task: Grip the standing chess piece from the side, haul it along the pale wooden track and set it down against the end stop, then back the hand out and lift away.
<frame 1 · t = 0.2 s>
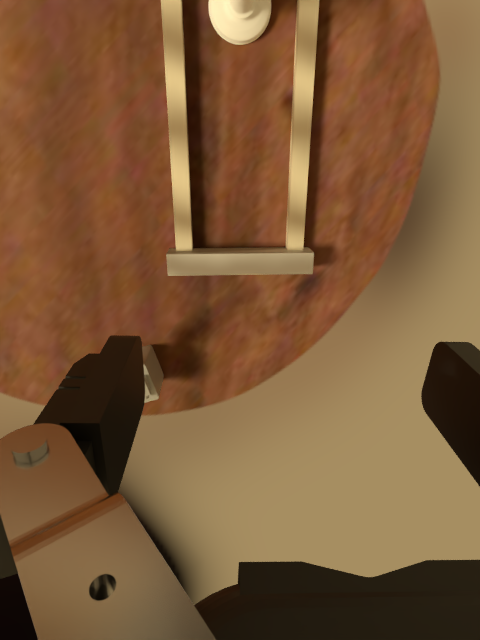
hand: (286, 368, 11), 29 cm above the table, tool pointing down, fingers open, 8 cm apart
lighter: (145, 350, 42), on the table
chess piece: (239, 8, 31), on the table
track: (239, 121, 34), on the table
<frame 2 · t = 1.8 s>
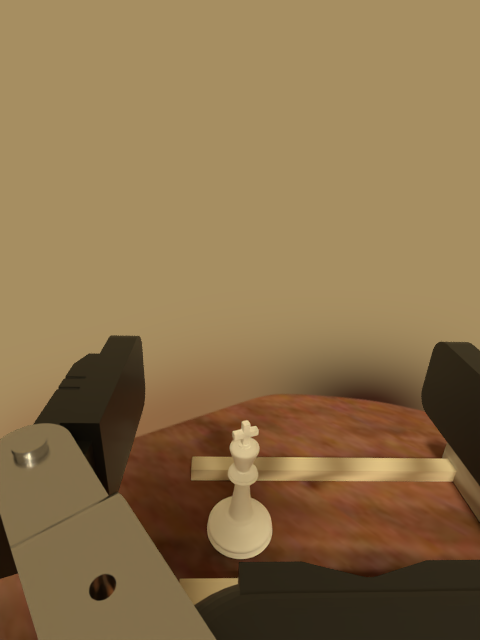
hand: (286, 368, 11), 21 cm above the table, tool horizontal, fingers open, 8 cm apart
chess piece: (239, 529, 30), on the table
track: (343, 527, 30), on the table
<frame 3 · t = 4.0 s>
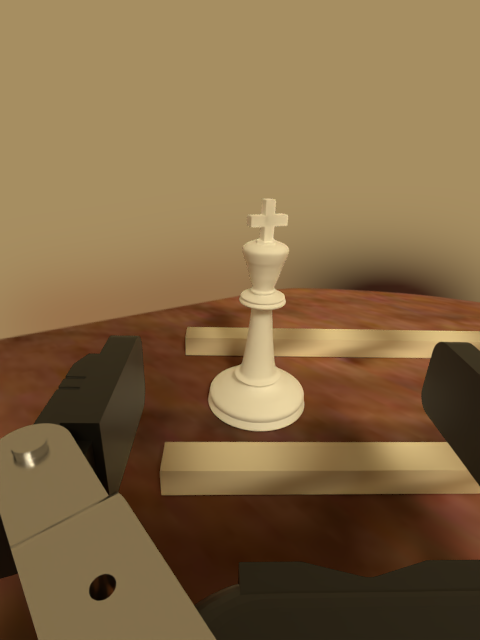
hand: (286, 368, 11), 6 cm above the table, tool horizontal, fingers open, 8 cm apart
chess piece: (255, 403, 20), on the table
track: (407, 400, 21), on the table
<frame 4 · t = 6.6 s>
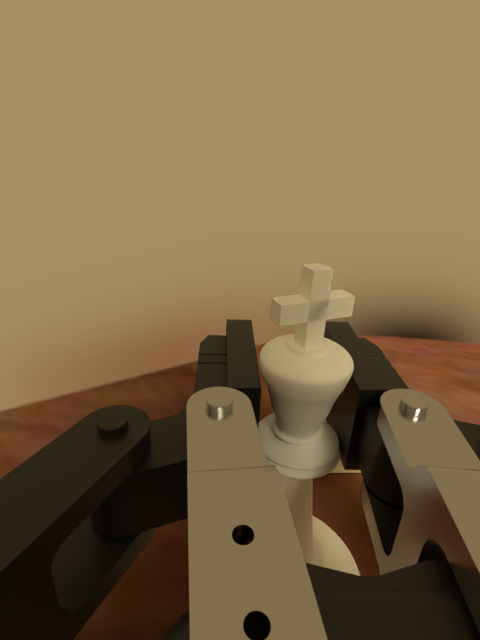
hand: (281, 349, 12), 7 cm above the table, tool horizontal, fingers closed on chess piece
chess piece: (277, 591, 12), on the table, touching gripper
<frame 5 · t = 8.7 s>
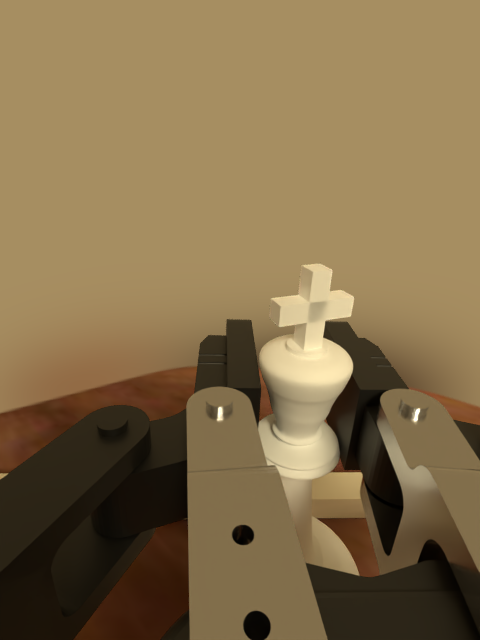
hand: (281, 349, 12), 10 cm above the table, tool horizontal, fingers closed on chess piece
chess piece: (276, 592, 12), point 3 cm above the table, touching gripper
track: (248, 635, 13), on the table
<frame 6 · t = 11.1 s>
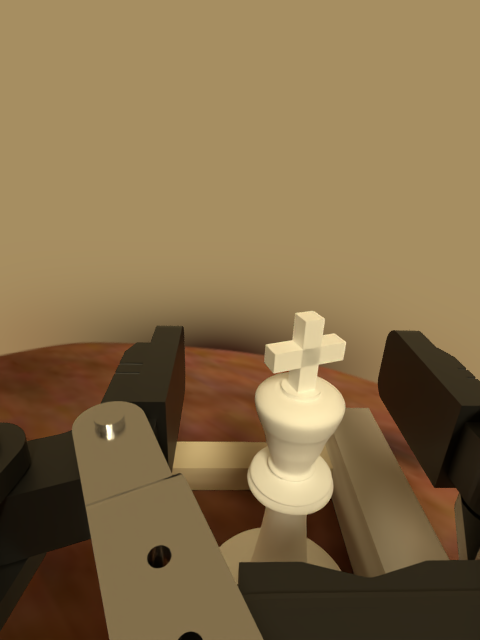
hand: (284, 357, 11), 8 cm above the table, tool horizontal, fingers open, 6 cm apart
chess piece: (273, 615, 12), on the table
track: (3, 611, 12), on the table
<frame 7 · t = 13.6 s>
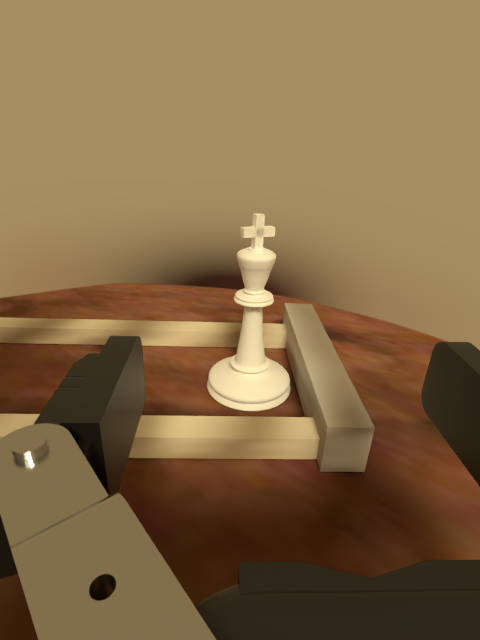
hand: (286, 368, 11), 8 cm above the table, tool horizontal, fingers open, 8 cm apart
chess piece: (248, 388, 24), on the table
track: (109, 382, 23), on the table
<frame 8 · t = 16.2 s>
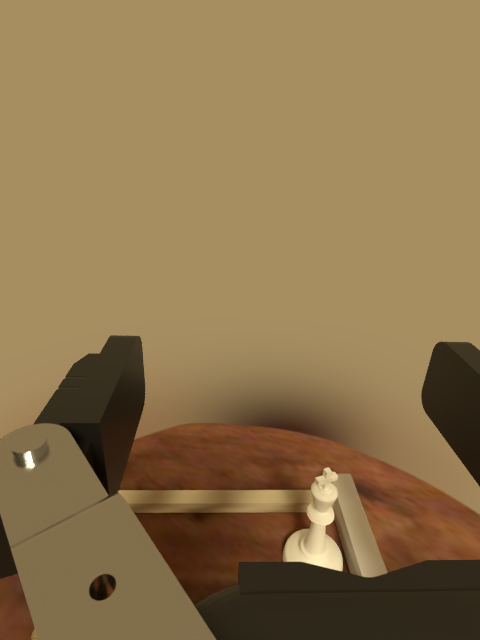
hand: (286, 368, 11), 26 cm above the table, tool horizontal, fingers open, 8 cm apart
chess piece: (312, 561, 33), on the table
track: (214, 559, 33), on the table
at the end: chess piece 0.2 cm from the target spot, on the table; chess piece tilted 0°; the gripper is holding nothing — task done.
